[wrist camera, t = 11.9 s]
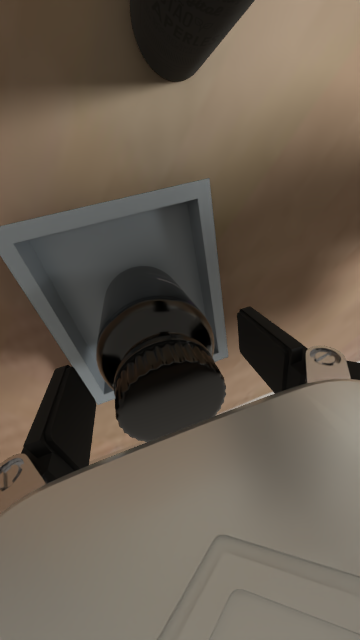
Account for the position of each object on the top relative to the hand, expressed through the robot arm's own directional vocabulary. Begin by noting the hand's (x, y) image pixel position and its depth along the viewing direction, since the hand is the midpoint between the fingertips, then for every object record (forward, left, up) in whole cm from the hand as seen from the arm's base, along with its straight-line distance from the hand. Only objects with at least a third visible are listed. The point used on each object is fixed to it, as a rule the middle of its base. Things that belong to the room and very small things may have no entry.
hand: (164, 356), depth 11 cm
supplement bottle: (0, 0, -9) cm, 9 cm away
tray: (+1, 0, -9) cm, 9 cm away
